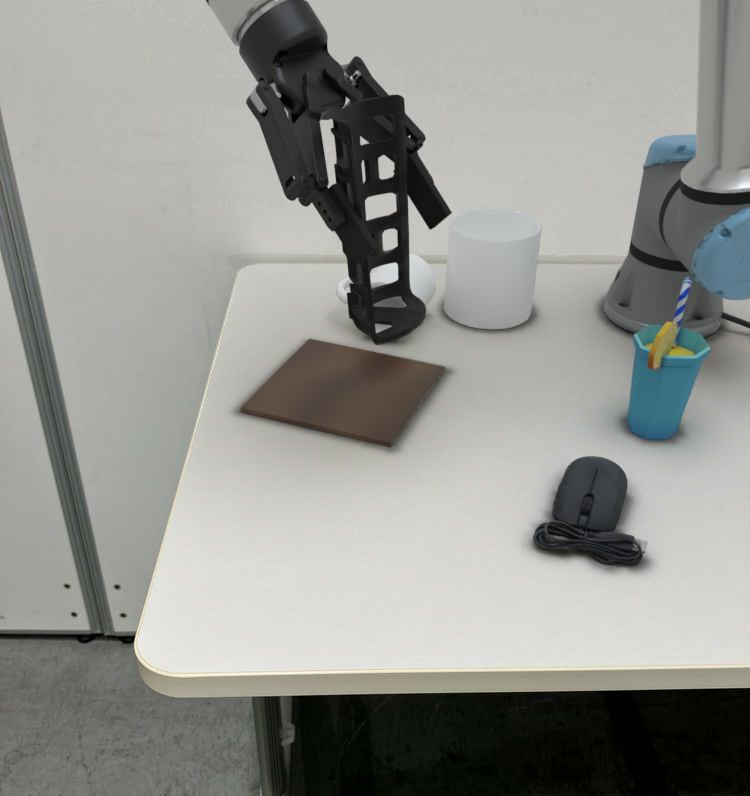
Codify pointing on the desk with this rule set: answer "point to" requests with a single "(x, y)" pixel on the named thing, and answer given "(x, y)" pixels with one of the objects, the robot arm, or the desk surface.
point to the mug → (388, 273)
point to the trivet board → (346, 391)
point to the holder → (357, 193)
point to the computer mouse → (591, 512)
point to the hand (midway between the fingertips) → (405, 238)
